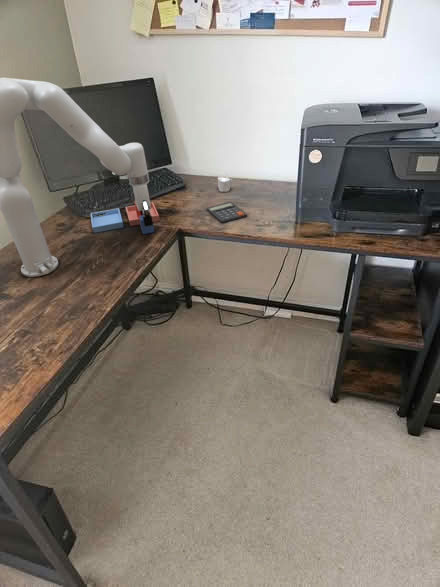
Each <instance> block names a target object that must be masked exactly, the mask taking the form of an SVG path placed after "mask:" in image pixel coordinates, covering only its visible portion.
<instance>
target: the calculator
mask: <svg viewBox="0 0 440 587" xmlns="http://www.w3.org/2000/svg"><path fill="white" fill-rule="evenodd" d="M206 210H207V211H208V212H209V214H211V215H212V216H213V217H215V219H216V220H218V221H219V222H220V223H222V224H223V223H227V222H231V221H234V220H238V219H241V218H245V217H246V218H247V213H246V212H244V211H243V209H241V208H240V207H238V206H237V205H236V204H235V203H233V202H232V201H228V202H227V201H226V202H224V203H219V204H216V205H211V206H208V207H206Z"/></svg>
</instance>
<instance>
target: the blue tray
mask: <svg viewBox="0 0 440 587" xmlns="http://www.w3.org/2000/svg"><path fill="white" fill-rule="evenodd" d="M105 212H106V213H105ZM98 213H105V214H103V215H99V216H94V217H93V216H92V214H98ZM90 221H91V222H90V223H91V229H92V233H93V234H95V233H101V232H107V231H111V230H118V229H122V228H124V222H123V218H122V214H121V211H120V208H119V207H118V208H112V209H106V210H101V211H95V212H90Z"/></svg>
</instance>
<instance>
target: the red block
mask: <svg viewBox="0 0 440 587" xmlns="http://www.w3.org/2000/svg"><path fill="white" fill-rule="evenodd" d="M133 203H134V205H135V209H136V214H137V217H138V218H139V216H141V213H140V211H138V209H137V206H136V202H135V200H134V201H133Z"/></svg>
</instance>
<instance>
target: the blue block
mask: <svg viewBox="0 0 440 587" xmlns="http://www.w3.org/2000/svg"><path fill="white" fill-rule="evenodd" d="M143 217H144V216H143V215H141V216H139V220H140V224H139V226H140V230H141V232H142V234H143V235H147V234H152V233H155V227H154V224H153V225H151V226H145V224H144V220H143Z"/></svg>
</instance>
